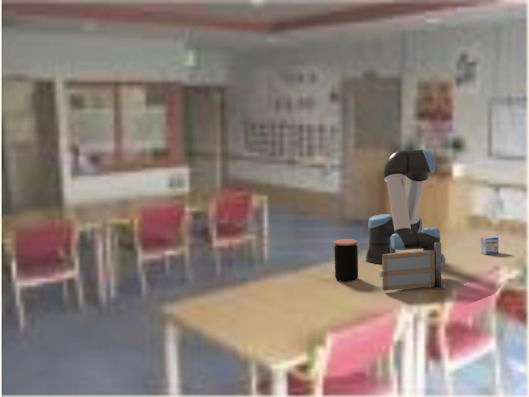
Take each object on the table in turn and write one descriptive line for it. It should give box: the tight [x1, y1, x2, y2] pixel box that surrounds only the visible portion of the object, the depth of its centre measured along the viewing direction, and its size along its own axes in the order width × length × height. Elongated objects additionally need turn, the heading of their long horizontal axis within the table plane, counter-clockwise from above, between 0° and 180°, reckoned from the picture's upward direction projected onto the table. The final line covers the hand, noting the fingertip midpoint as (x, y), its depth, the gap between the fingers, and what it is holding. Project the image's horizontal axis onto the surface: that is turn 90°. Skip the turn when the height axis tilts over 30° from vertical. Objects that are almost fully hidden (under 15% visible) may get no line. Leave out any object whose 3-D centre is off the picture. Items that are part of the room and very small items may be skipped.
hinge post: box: [430, 241, 446, 291], centre depth 304 cm, size 6×6×20 cm
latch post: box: [390, 237, 397, 254], centre depth 325 cm, size 2×2×19 cm
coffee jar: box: [333, 238, 359, 283], centre depth 325 cm, size 11×11×18 cm
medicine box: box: [480, 236, 500, 256], centre depth 366 cm, size 8×4×9 cm, turn 105°
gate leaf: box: [381, 250, 435, 292], centre depth 301 cm, size 23×2×16 cm, turn 101°
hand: (379, 273), depth 301 cm, fingers closed
